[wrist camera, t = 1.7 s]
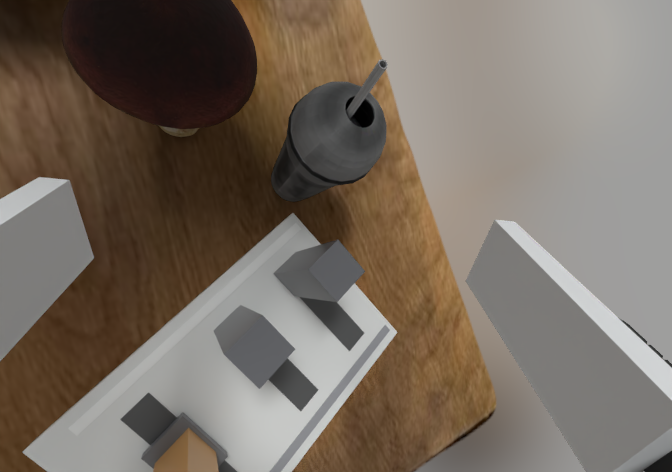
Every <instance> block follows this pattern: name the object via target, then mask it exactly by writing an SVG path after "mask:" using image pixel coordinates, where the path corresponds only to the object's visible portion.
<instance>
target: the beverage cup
mask: <svg viewBox="0 0 672 472" xmlns="http://www.w3.org/2000/svg"><path fill="white" fill-rule="evenodd" d="M386 68H387V62H386V61H385V60H383V59H382V60H379V61H378V63H377V64H376V66H375V68H374V69H373V71H372V72H371V74H370V75H369V77H368V78H367V80H366V81H365V83H364V84H363V86H362V87H361V86H358V85H355V84H352V83H349V82H330V83H327V84H324V85H322V86H319V87H316V88H314V89H313V90H312V91H310V92H309V93H308V94H307V95H305V96H304V97H303V98H302V99H301V100H300V101H299V102H298V103H297V104H295V106H294V108H293V110H292V112H291V114H290V117H289V123H288V130H287V137H286V140H285V142H284V144H283V147H282V149H281V151H280V154H279V156H278V158H277V161H276V163H275V166H274V168H273V172H272V176H271V182H272V186H273V188H274V190H275V192H276V193H277V194H278V195H279V196H280V197H281V198H283V199H285V200H287V201H292V202H295V201H300V200H303V199H307V198H309V197H311V196H313V195H315V194H318V193H320V192H322V191H324V190H326V189H329V188H331V187H333V186H336V185H343V184H350V183H354V182H356V181H358V180H359V179H361V178H363V177H365V175H366V174H367V173H368V172H369V170H370V169H371V168H372V167H373V165H374V164H375V163H376V162H377V160H378V159H379V158H380V155H381V153H382V150H383V147H384V145H385V142H386V122H385V118H384V114H383V111H382V109H381V107H380V105H379V103H378V101H377V100H376V99H375V98H374V97H373V96H372V95H371V93H369V92H370V91H371V89H372V88H373V86H374V85H375V84H376V82H377V81H378V79H379V78H380V77H381V75H382V74H383V72H384V71H385V70H386Z"/></svg>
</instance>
